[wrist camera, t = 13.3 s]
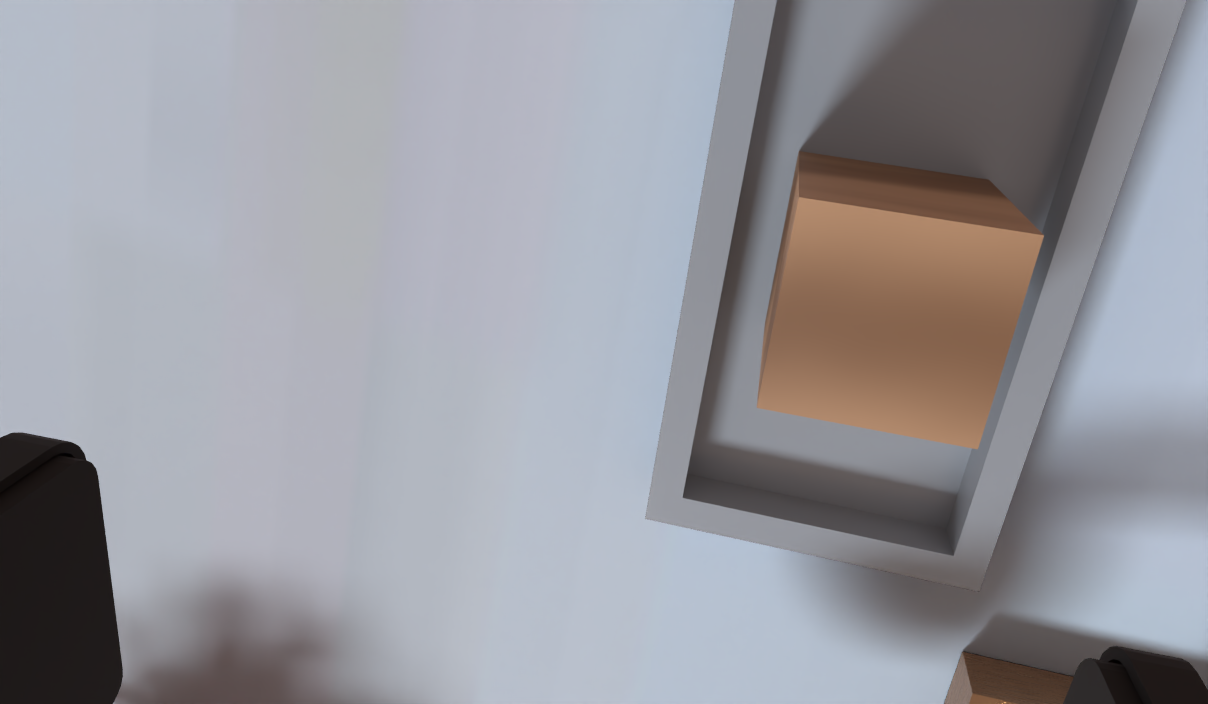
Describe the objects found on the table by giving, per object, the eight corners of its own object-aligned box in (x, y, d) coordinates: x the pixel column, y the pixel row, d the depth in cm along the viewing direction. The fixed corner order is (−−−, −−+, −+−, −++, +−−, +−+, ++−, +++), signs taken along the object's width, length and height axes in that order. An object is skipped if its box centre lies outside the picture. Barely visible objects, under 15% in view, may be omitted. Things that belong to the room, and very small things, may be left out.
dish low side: (761, -125, 24) (758, -137, 22) (1172, -73, 23) (1214, -80, 20) (656, 479, 31) (645, 518, 28) (965, 545, 29) (979, 591, 27)
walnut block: (798, 151, 25) (799, 196, 20) (989, 179, 24) (1044, 235, 19) (764, 322, 27) (756, 407, 22) (940, 353, 26) (977, 449, 21)
